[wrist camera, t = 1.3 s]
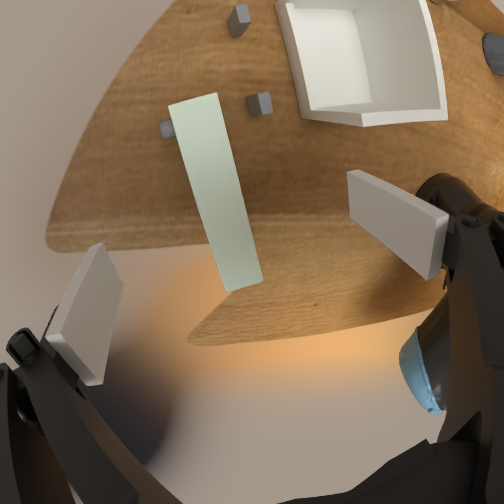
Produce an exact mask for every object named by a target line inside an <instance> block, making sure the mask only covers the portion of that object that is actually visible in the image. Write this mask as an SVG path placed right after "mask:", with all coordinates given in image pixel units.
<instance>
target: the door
mask: <svg viewBox="0 0 504 504" xmlns="http://www.w3.org/2000/svg"><path fill="white" fill-rule="evenodd" d="M168 108H169V111H170V115H171V119H169V120H166V121H163V122H160V123H159V126H160V131H161V134H162V137H163V139H164V140H165V139H168V138H171V137H174V136H177V140H178V143H179V147H180V150H181V154H182V157H183V161H184V164H185V167H186V171H187V174H188V177H189V181H190V184H191V187H192V190H193V194H194V197H195V200H196V203H197V207H198V210H199V213H200V216H201V219H202V222H203V225H204V229H205V232H206V235H207V238H208V241H209V244H210V247H211V250H212V253H213V256H214V259H215V262H216V265H217V268H218V270H219V274H220V277H221V279H222V282H223V285H224V288H225V291H226V293H227V292H231V291H234V290H237V289H240V288H244V287H247V286H250V285H253V284H257V283H260V282H263V277H262V273H261V269H260V265H259V261H258V257H257V253H256V249H255V244H254V240H253V236H252V232H251V228H250V224H249V220H248V216H247V212H246V208H245V204H244V200H243V196H242V191H241V187H240V183H239V179H238V175H237V171H236V167H235V163H234V159H233V155H232V151H231V147H230V143H229V139H228V135H227V131H226V127H225V123H224V119H223V115H222V111H221V107H220V103H219V99H218V95H217V92H216V93H212V94H208V95H204V96H201V97H197V98H193V99H190V100H186V101H183V102H179V103H176V104H173V105H170V106H168Z"/></svg>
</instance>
